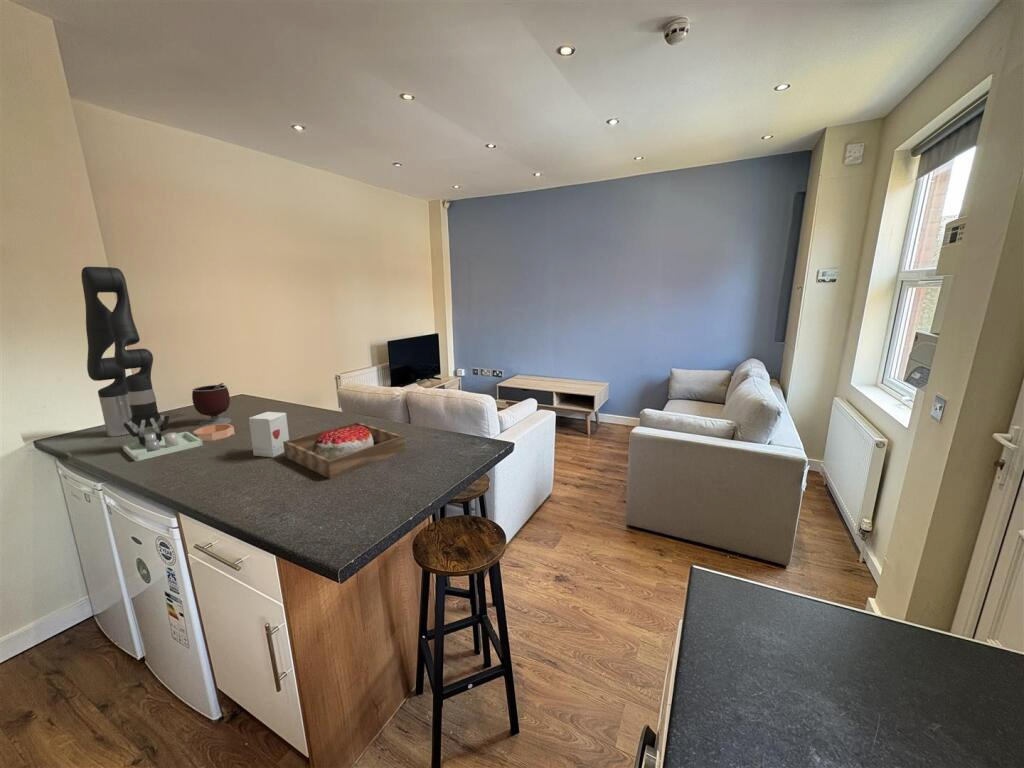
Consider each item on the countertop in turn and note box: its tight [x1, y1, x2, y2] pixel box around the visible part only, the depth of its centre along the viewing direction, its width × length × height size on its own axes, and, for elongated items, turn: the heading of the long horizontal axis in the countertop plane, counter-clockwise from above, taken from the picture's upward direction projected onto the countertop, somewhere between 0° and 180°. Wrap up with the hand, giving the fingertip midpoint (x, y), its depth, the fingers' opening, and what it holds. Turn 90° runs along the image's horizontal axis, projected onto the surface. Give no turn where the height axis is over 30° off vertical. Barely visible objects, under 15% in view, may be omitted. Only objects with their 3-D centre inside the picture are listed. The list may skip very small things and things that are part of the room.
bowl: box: [192, 423, 235, 442], centre depth 169 cm, size 13×13×4 cm
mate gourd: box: [191, 382, 232, 428], centre depth 187 cm, size 16×14×20 cm
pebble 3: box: [163, 431, 178, 448], centre depth 157 cm, size 4×4×5 cm
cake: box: [312, 426, 375, 460], centre depth 152 cm, size 23×24×10 cm
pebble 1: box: [143, 431, 157, 448], centre depth 156 cm, size 4×4×5 cm
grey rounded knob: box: [145, 440, 160, 452], centre depth 149 cm, size 4×4×5 cm
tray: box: [121, 431, 204, 462], centre depth 155 cm, size 18×20×3 cm
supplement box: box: [248, 411, 290, 458], centre depth 152 cm, size 9×9×15 cm
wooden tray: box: [283, 421, 406, 480], centre depth 152 cm, size 31×30×6 cm
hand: (151, 443), depth 156 cm, fingers closed on pebble 1, 3 cm apart
